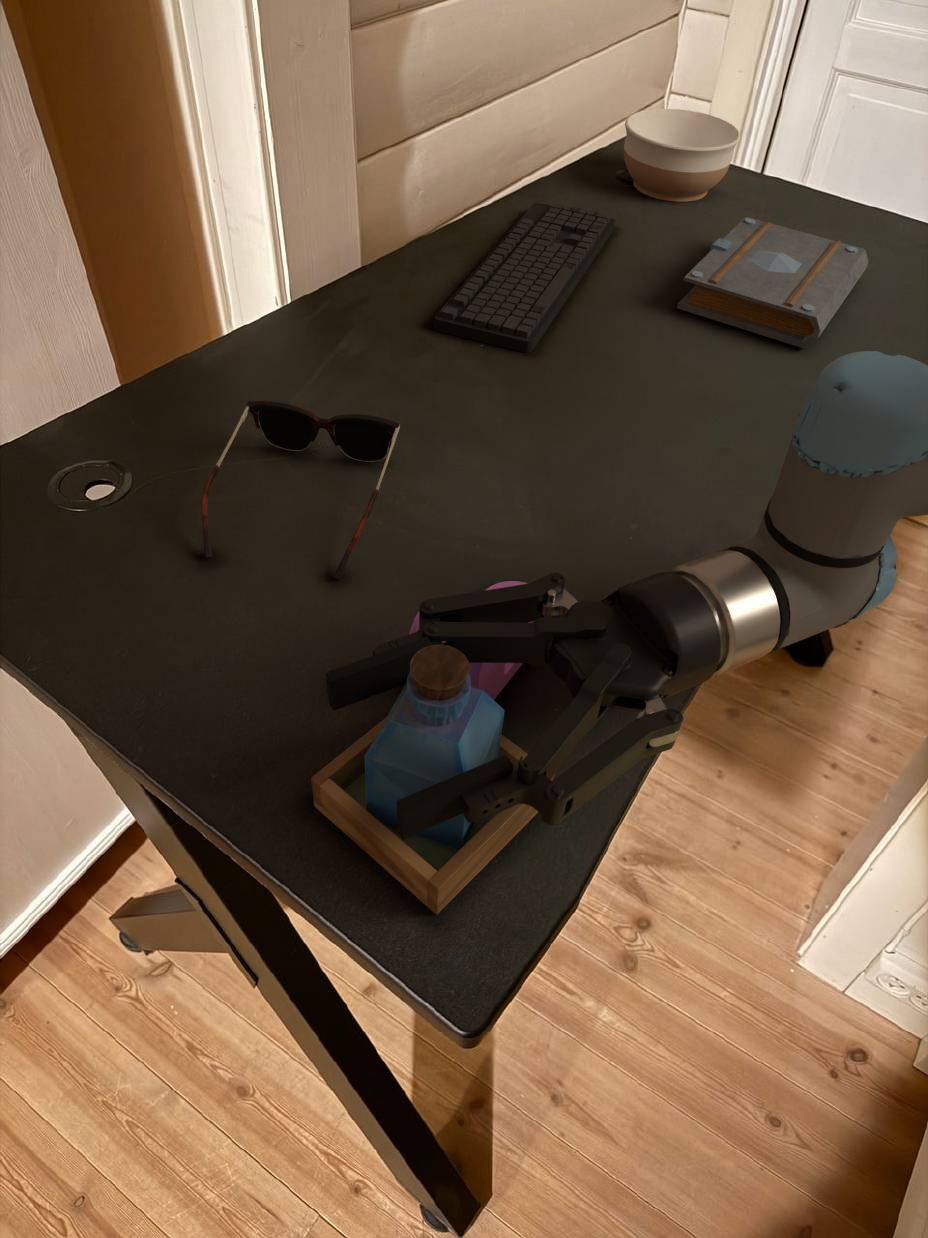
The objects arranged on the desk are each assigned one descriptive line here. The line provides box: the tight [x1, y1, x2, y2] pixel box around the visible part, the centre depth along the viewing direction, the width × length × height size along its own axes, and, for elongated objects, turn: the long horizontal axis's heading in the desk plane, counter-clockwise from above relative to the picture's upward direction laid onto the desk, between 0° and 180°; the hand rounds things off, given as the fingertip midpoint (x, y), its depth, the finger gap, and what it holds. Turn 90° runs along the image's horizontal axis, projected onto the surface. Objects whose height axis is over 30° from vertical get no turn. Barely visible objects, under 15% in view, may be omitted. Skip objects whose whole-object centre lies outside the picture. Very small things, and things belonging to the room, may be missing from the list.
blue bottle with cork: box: [365, 645, 506, 850], centre depth 52 cm, size 6×6×12 cm
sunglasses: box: [201, 400, 401, 580], centre depth 76 cm, size 14×16×5 cm
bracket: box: [408, 580, 534, 701], centre depth 65 cm, size 13×6×7 cm, turn 148°
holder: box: [310, 717, 556, 915], centre depth 56 cm, size 11×11×3 cm
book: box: [676, 216, 869, 350], centre depth 107 cm, size 21×16×5 cm
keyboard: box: [434, 202, 616, 354], centre depth 109 cm, size 35×11×2 cm, turn 159°
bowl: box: [623, 108, 741, 203], centre depth 128 cm, size 16×16×8 cm
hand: (362, 752), depth 50 cm, fingers open, 9 cm apart
